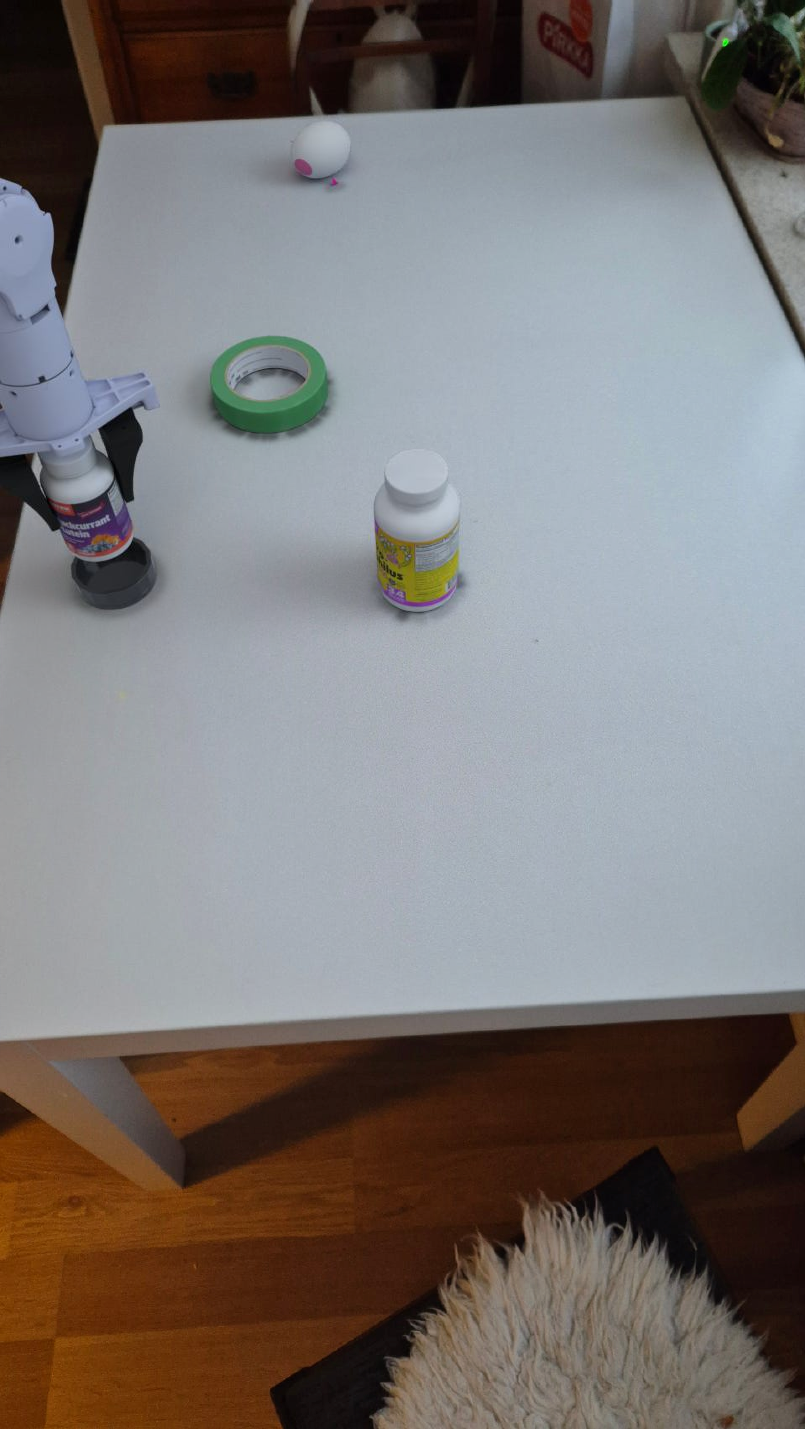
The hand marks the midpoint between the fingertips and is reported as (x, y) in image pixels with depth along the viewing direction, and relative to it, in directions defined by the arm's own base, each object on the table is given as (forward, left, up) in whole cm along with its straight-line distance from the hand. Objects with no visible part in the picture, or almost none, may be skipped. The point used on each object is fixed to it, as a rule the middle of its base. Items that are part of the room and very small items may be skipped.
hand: (89, 508), depth 77 cm
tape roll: (+16, +21, -9) cm, 28 cm away
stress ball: (+28, +59, -9) cm, 66 cm away
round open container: (0, +1, -9) cm, 9 cm away
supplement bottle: (+24, -6, -9) cm, 27 cm away
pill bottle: (0, 0, -4) cm, 4 cm away
